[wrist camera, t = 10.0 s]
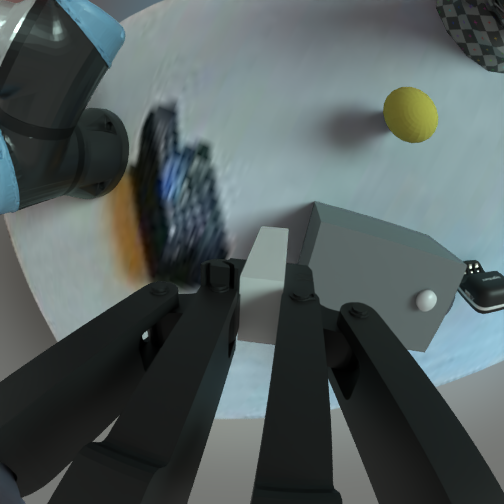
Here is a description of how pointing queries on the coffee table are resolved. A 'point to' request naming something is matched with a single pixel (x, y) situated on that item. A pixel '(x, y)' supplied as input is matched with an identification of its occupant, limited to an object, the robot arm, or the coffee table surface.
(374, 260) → the small grey cabinet
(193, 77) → the coffee table surface
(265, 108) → the coffee table surface
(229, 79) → the coffee table surface
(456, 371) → the coffee table surface
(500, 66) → the lantern
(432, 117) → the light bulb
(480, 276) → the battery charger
